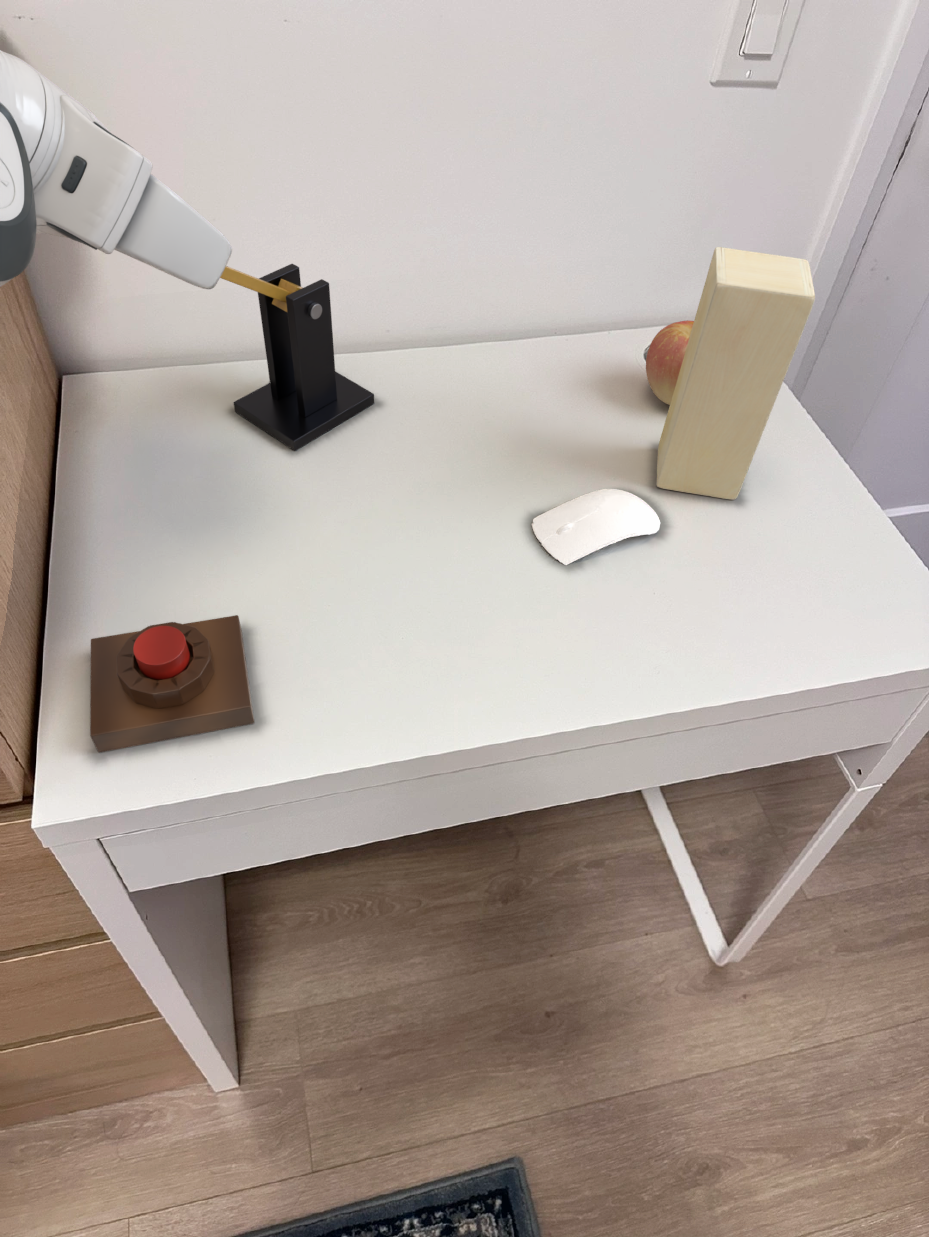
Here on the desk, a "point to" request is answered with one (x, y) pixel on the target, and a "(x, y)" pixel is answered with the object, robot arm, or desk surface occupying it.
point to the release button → (161, 652)
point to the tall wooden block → (733, 369)
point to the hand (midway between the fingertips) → (187, 254)
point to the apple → (667, 358)
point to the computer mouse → (593, 523)
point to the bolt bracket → (300, 368)
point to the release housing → (169, 687)
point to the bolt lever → (262, 286)
